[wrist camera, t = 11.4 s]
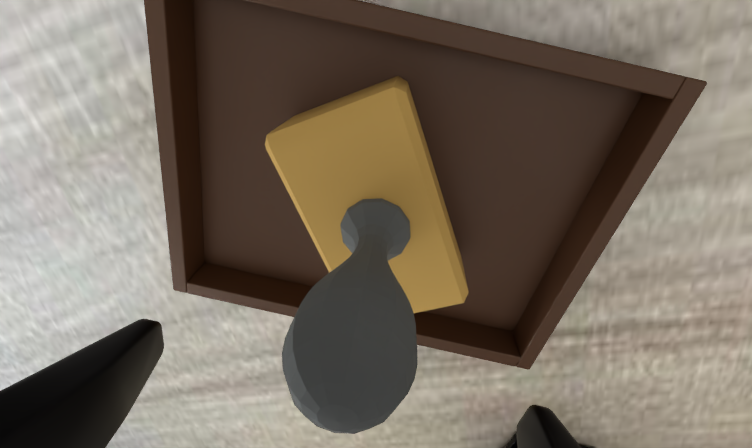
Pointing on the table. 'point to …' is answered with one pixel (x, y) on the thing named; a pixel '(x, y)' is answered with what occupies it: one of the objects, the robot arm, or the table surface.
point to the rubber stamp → (364, 253)
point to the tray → (444, 140)
